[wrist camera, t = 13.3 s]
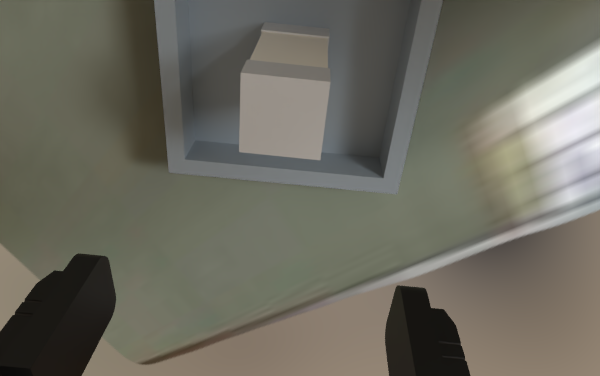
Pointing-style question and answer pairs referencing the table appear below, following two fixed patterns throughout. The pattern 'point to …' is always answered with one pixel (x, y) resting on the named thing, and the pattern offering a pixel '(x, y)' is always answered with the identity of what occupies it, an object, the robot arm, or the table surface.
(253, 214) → the table surface
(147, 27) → the table surface
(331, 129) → the parts tray
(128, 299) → the table surface
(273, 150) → the block
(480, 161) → the table surface
